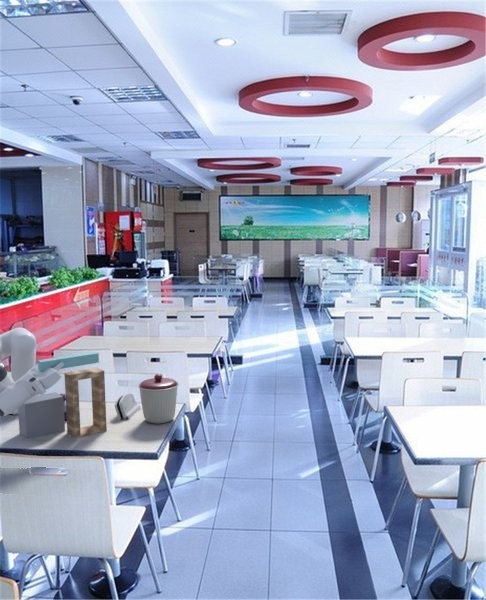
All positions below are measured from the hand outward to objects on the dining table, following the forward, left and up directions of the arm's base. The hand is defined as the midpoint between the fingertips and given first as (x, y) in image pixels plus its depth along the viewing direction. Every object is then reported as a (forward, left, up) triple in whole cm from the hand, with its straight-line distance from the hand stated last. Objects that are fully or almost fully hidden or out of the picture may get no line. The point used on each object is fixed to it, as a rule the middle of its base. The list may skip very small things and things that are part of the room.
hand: (60, 361), depth 223 cm
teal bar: (+2, +3, -2) cm, 4 cm away
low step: (-13, +1, -32) cm, 35 cm away
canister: (+24, +34, -32) cm, 53 cm away
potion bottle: (-16, +17, -32) cm, 40 cm away
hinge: (+5, +36, -32) cm, 49 cm away
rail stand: (+4, +9, -32) cm, 33 cm away
